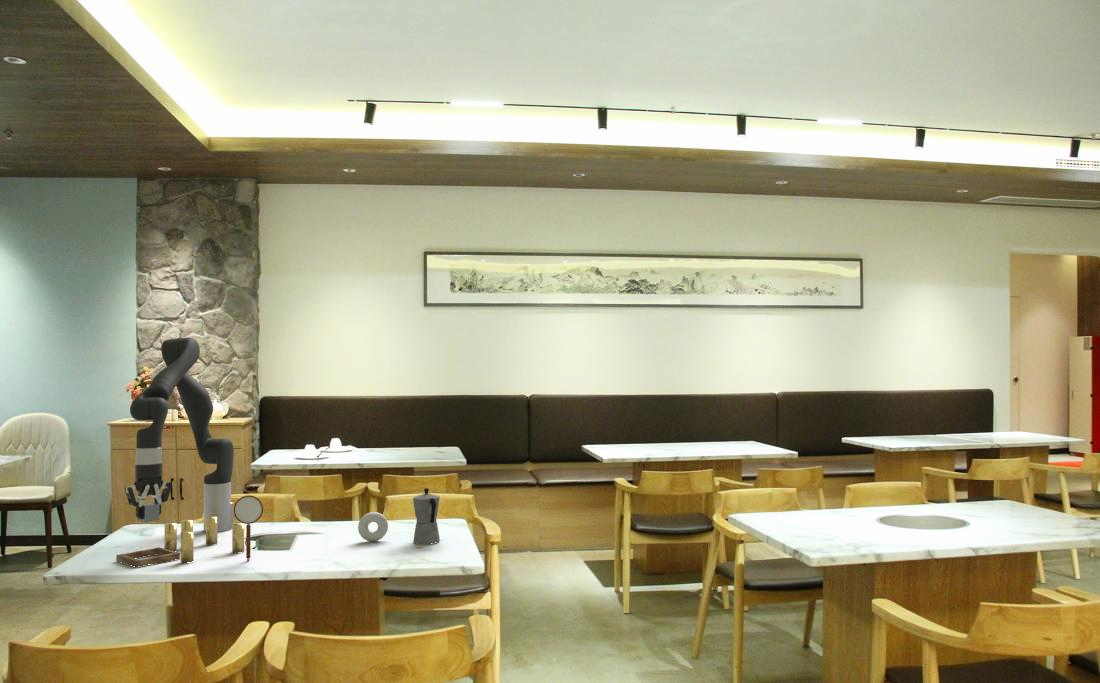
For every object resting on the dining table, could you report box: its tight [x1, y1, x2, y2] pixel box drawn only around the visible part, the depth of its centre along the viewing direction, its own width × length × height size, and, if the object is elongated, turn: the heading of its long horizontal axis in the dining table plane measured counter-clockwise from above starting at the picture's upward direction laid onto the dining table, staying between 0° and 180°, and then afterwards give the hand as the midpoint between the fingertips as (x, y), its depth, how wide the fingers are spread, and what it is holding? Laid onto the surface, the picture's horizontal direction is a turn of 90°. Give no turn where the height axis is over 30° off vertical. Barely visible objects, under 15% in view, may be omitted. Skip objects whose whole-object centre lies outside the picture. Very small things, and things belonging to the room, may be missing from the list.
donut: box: [357, 511, 389, 542], centre depth 276 cm, size 10×4×10 cm, turn 103°
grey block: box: [137, 501, 160, 523], centre depth 252 cm, size 4×4×5 cm
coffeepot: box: [412, 487, 441, 545], centre depth 274 cm, size 15×9×18 cm, turn 26°
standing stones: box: [163, 516, 245, 564], centre depth 261 cm, size 22×23×9 cm
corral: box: [115, 546, 181, 568], centre depth 251 cm, size 13×13×2 cm
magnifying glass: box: [233, 494, 264, 562], centre depth 249 cm, size 9×2×20 cm, turn 99°
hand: (148, 517), depth 252 cm, fingers closed on grey block, 4 cm apart
